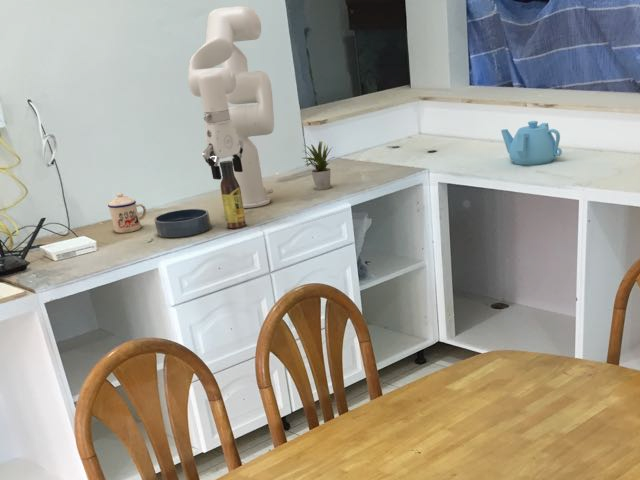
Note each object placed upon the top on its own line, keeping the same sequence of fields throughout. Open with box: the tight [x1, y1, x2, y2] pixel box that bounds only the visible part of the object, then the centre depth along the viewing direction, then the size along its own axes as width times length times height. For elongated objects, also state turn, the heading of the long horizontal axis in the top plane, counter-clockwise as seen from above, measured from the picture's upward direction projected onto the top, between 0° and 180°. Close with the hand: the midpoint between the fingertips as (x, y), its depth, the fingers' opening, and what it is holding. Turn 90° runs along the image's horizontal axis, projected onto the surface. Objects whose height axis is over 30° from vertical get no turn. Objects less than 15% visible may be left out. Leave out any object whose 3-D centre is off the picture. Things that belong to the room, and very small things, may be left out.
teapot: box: [500, 120, 563, 166], centre depth 346 cm, size 19×19×14 cm
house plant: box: [302, 140, 335, 191], centre depth 338 cm, size 14×14×16 cm
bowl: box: [153, 208, 212, 238], centre depth 301 cm, size 17×17×5 cm
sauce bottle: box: [219, 160, 246, 229], centre depth 297 cm, size 6×6×20 cm
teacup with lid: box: [107, 192, 147, 234], centre depth 309 cm, size 12×9×12 cm
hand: (228, 175), depth 294 cm, fingers open, 9 cm apart
